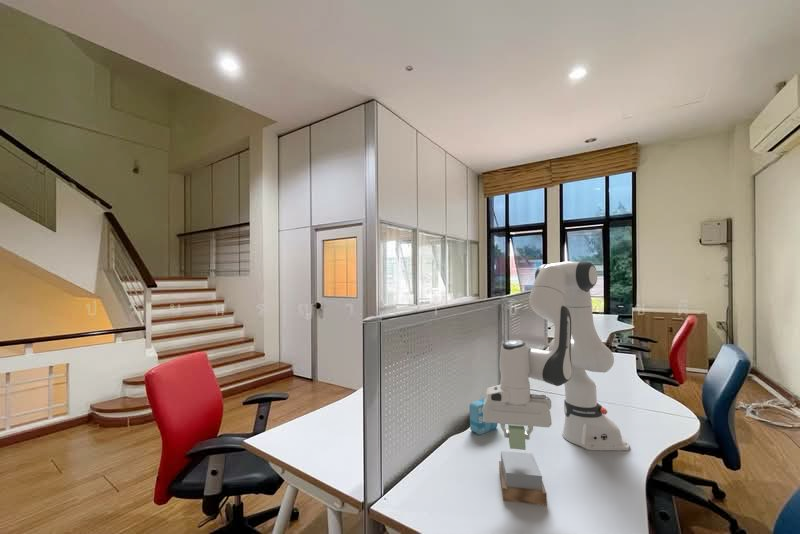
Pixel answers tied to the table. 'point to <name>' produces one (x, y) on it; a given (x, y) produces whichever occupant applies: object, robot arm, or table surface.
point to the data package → (479, 418)
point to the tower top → (521, 470)
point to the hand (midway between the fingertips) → (516, 437)
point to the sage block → (516, 437)
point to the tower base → (522, 493)
